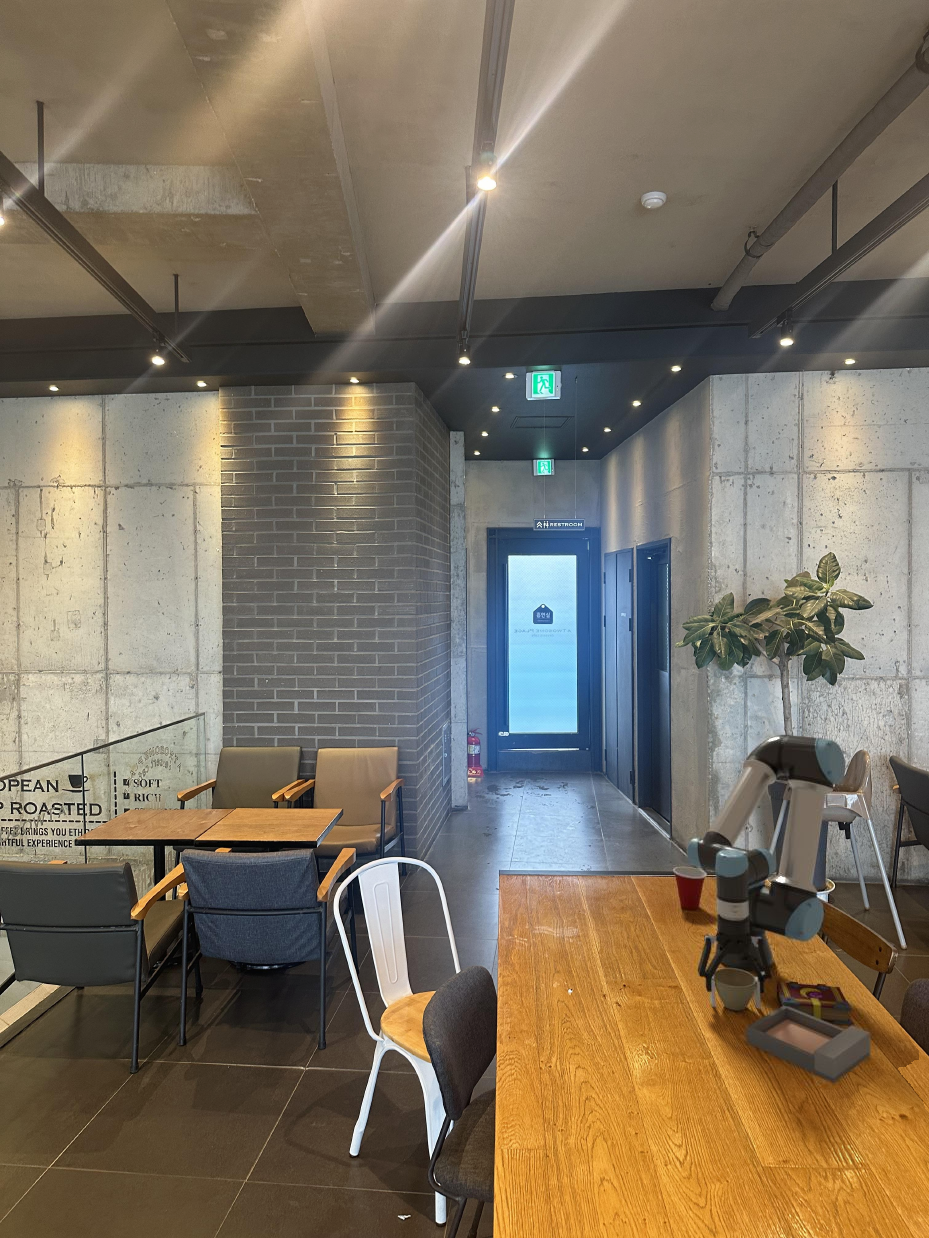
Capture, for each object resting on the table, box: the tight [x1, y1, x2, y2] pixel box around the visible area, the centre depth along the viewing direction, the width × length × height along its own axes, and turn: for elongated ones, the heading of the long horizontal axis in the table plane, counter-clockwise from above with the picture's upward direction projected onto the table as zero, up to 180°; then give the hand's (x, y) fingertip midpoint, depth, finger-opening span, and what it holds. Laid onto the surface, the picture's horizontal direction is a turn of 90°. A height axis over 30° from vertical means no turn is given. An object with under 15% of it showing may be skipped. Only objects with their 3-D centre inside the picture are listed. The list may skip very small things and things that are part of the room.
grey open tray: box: [746, 1005, 871, 1084], centre depth 175 cm, size 16×20×5 cm
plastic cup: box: [672, 866, 708, 911], centre depth 261 cm, size 11×11×12 cm
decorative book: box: [776, 980, 855, 1026], centre depth 191 cm, size 11×16×5 cm
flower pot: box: [713, 967, 756, 1011], centre depth 194 cm, size 10×10×7 cm
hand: (735, 1004), depth 194 cm, fingers closed on flower pot, 10 cm apart
